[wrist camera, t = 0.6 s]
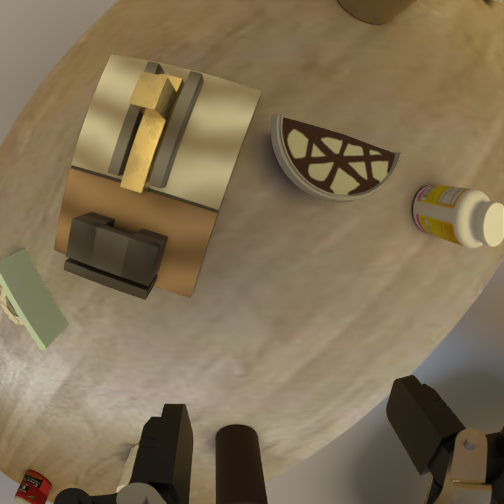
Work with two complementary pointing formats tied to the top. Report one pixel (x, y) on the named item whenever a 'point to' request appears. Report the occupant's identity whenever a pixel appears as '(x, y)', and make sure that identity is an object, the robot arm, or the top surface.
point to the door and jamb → (151, 181)
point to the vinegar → (239, 467)
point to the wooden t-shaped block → (150, 126)
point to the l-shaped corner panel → (29, 299)
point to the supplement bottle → (459, 215)
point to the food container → (329, 161)
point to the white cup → (128, 468)
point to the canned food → (33, 489)
